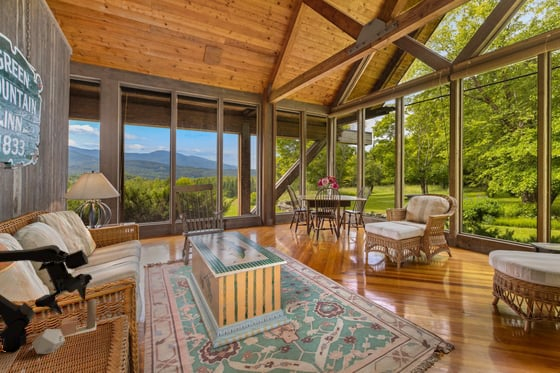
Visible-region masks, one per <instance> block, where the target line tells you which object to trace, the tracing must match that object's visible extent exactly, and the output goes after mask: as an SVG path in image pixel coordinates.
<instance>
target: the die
mask: <svg viewBox="0 0 560 373" xmlns="http://www.w3.org/2000/svg"><path fill="white" fill-rule="evenodd" d="M60 330H61V328H60V329H59V328H58V329H57V328H56V329H54V328H46V329H45V330H44V331H43V332H41V333H40V334H39V335H38V336H37V337H36V338H35V339H34V340H33V341H32V342H31V344H32V346H33V349H34V351H35V353H36V354H37V355H48V354H52V353H54V352H56V351H57V350H58V349H59V348H60V347H61V346H62V345H63V344H64V343H65V342H66V339H65V337H63V335H62V333H61V331H60Z"/></svg>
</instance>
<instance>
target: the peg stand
mask: <svg viewBox="0 0 560 373" xmlns="http://www.w3.org/2000/svg"><path fill="white" fill-rule="evenodd" d="M97 300H98V299H97V298H91V299H89V300H87V309H86V326H83V327H79V328H77V330H76V333H75V334H70V335H66V336H63V337H64V338H66V337H72V336H75V335H79V334H83V333H88V332H92V331H96V330H97V321H96V317H97V304H98V302H97Z"/></svg>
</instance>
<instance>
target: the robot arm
mask: <svg viewBox="0 0 560 373" xmlns="http://www.w3.org/2000/svg"><path fill="white" fill-rule="evenodd" d="M22 261H23V262H25V261H29V262H35V263H41V265H40V267H39V268H38V271H43V270H46V272H47V275H48V277H49V283H51V284H52V285H53V288H52V290H53V291H54V292H52V293H51V294H44V295H43V296H41V297H39V298H37V299H36V300H35V301H34V305H35V307H36V308H46V307H47V308H49V309H51V310H52V311H53V312H55V313H56V314H58V315H59V316H62V315H63V312H62V310H61V308H60V305H58V303H59V302H58V300H56V298H57V297H59V296H60V295H62V294H64V293H66V292H67V293H69V294H70V293H71V294H72V293H74V292H75V291H76V290H77V292H78V294H79V296H80V298H81V299H82V300H83V301H85V300H86V289H87V287H88V284H89V283H91V280H93V276H92V275H91V274H90V273H85V274H84V273H80V274H78V275H75V276H73V274H72V273H71V272H69V271H68V270H75V269H78V268H80V267H83V266H86V265H89V259H88V256H87V254H86V253H85V251H83V249H79V250H77V251H75V252H71V253H69V252H66V251H64V250H62V249H60V247H59V246H58V245H55V244H49V245H44V246H39V247H35V248H29V249H11V250H0V263H11V262H12V263H13V262H22ZM33 309H34V307H32V306H29V304H28V303H27V302H24V303H22V304H21V305H20V304H16V303H13V301H11V300H9V299H8V298H6V297H5V296H3V295H2V294H0V317H1V319H2V321H3V323H4V325H5V327H4V328H3V329H2V330H1V331H0V339H1V344H0V346H1V345H3V350H4V351H6V352H13V353H15V352H17V351H19V349H21V347H23V346H24V345H26V344H27V339H28V338H27V336H28V334H27V329H26V328H27V326H29V324H30V323H31V322H32V320H33V319H34V317H35V314H36V313H35V310H33ZM6 352H5V353H6Z"/></svg>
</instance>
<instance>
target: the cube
mask: <svg viewBox="0 0 560 373" xmlns="http://www.w3.org/2000/svg"><path fill="white" fill-rule="evenodd" d="M77 326H78V315H77V316H76V315H75V316H72V317H67V318H62V320H61V323H60V330H61V333H62V335H63V336H66V335H70V334H75V333H76V330H77Z"/></svg>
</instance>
